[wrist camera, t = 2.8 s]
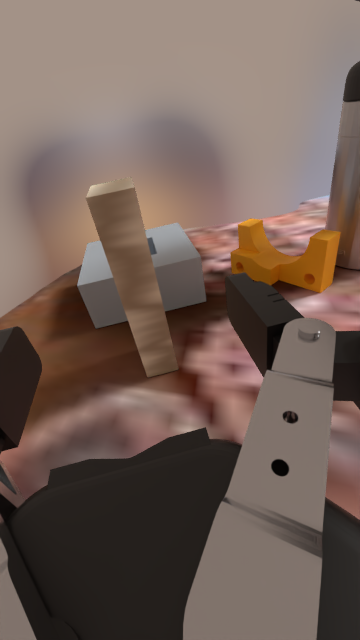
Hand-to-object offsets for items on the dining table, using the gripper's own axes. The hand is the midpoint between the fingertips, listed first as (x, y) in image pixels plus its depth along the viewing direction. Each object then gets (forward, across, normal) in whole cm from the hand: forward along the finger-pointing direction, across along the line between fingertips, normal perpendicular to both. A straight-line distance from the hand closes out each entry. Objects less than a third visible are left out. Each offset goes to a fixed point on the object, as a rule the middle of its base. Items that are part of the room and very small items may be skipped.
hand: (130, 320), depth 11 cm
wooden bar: (+12, 0, +13) cm, 17 cm away
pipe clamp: (+21, -17, +13) cm, 30 cm away
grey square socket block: (+27, 0, +12) cm, 30 cm away
